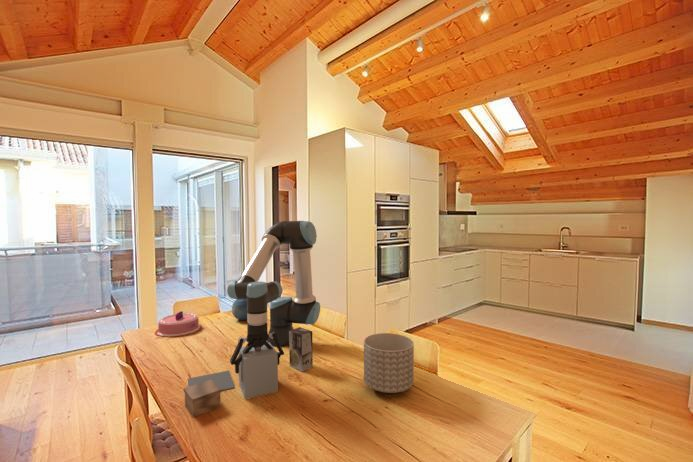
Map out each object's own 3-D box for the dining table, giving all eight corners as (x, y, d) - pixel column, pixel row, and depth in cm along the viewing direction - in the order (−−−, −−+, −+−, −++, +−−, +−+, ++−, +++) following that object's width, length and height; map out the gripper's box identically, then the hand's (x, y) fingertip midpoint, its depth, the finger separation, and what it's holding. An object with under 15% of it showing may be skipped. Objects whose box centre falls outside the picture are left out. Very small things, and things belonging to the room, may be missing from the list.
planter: (381, 406, 116) (381, 355, 115) (355, 382, 133) (355, 337, 132) (423, 393, 125) (424, 345, 124) (394, 372, 142) (394, 330, 141)
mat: (229, 371, 143) (229, 370, 143) (234, 387, 129) (234, 387, 129) (187, 379, 136) (187, 378, 136) (189, 398, 121) (189, 397, 121)
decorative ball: (227, 322, 209) (226, 299, 209) (238, 315, 224) (238, 293, 224) (249, 323, 207) (249, 300, 206) (259, 316, 222) (259, 294, 221)
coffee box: (313, 367, 146) (313, 331, 146) (301, 372, 142) (301, 334, 141) (300, 361, 153) (299, 326, 152) (288, 365, 148) (288, 330, 147)
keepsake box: (211, 395, 123) (211, 379, 123) (221, 406, 116) (221, 389, 115) (183, 405, 116) (183, 388, 116) (192, 417, 109) (192, 399, 109)
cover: (269, 377, 137) (269, 338, 136) (277, 391, 126) (277, 348, 125) (239, 384, 131) (238, 343, 131) (244, 399, 121) (244, 354, 120)
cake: (189, 337, 183) (189, 318, 183) (144, 337, 184) (144, 318, 184) (209, 323, 208) (208, 306, 208) (169, 323, 209) (169, 306, 209)
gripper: (286, 315, 137) (286, 366, 138) (221, 324, 125) (222, 379, 126) (291, 320, 130) (292, 374, 131) (224, 330, 119) (225, 388, 120)
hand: (257, 377), depth 129 cm, fingers open, 13 cm apart
